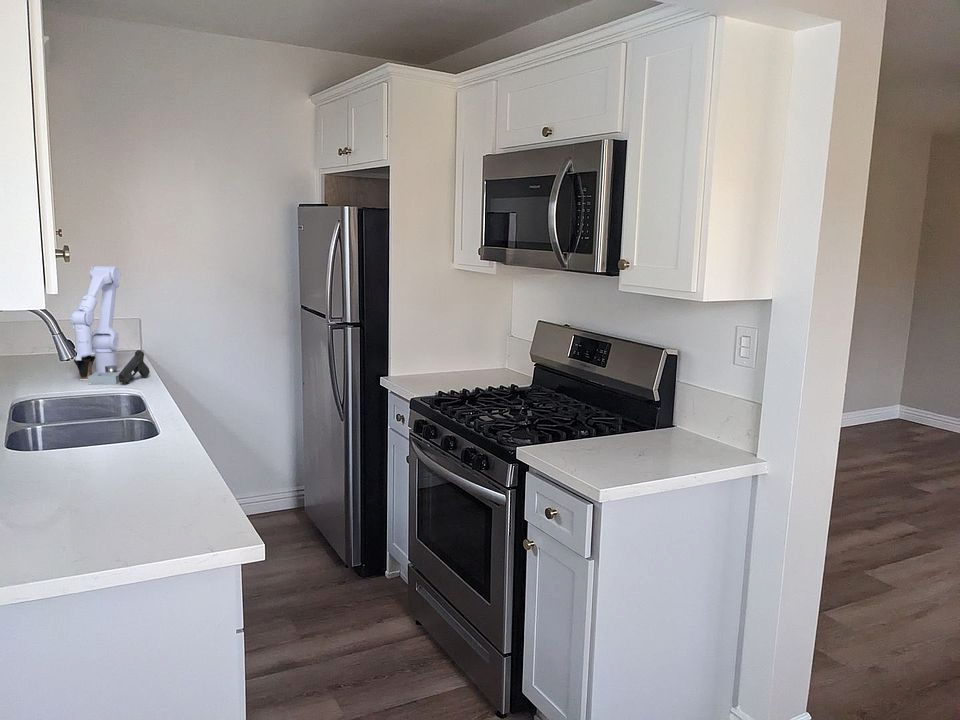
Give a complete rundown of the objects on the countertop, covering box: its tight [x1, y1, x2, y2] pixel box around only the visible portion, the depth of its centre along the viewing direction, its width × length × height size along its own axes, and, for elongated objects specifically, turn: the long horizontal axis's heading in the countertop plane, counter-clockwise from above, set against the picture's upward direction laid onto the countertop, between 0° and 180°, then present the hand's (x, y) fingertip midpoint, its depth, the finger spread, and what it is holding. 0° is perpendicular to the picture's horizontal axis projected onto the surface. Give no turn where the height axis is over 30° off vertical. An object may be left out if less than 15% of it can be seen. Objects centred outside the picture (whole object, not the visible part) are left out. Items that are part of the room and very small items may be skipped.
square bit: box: [78, 361, 93, 380], centre depth 297 cm, size 4×4×7 cm
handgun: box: [118, 349, 151, 385], centre depth 296 cm, size 2×17×12 cm, turn 174°
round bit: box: [105, 365, 119, 372], centre depth 301 cm, size 4×4×5 cm
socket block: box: [87, 371, 121, 385], centre depth 294 cm, size 9×10×3 cm
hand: (85, 375), depth 298 cm, fingers closed on square bit, 4 cm apart
